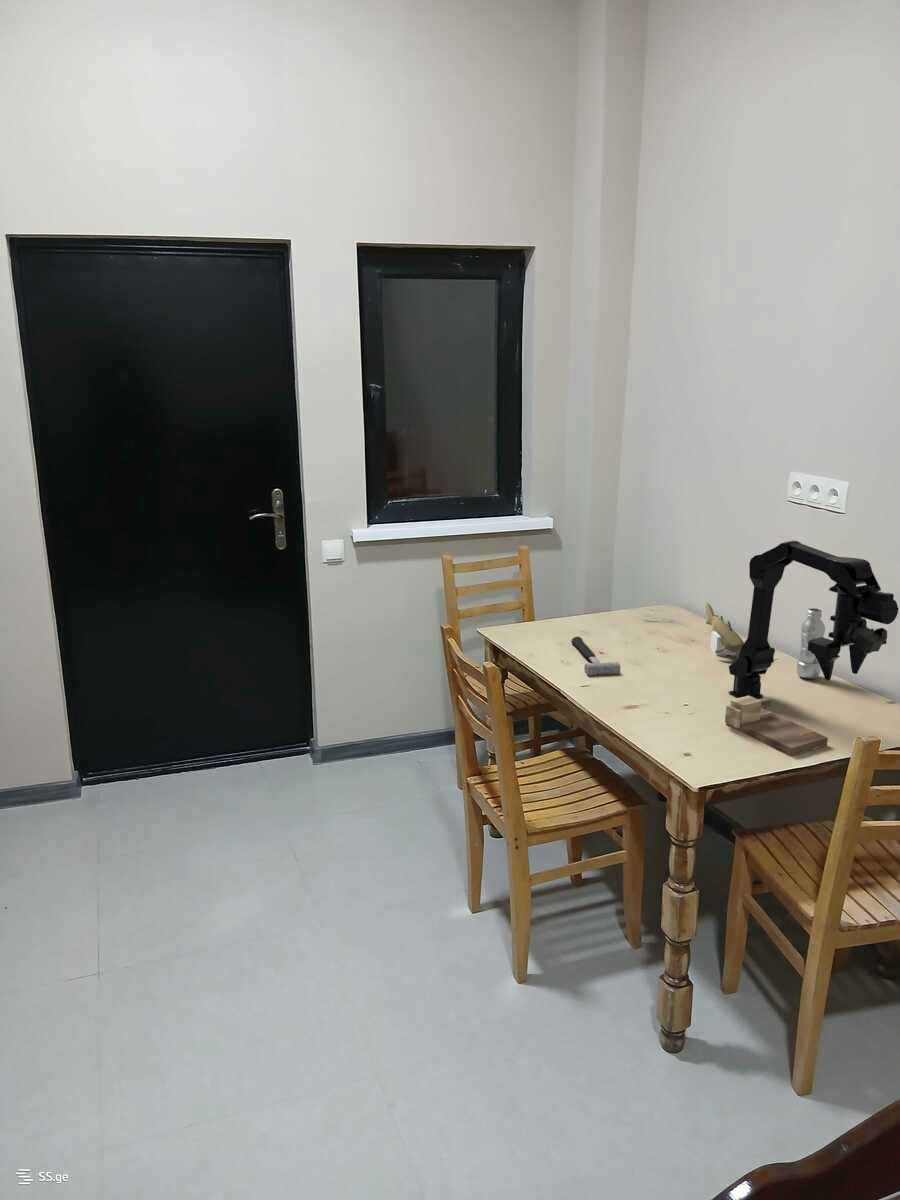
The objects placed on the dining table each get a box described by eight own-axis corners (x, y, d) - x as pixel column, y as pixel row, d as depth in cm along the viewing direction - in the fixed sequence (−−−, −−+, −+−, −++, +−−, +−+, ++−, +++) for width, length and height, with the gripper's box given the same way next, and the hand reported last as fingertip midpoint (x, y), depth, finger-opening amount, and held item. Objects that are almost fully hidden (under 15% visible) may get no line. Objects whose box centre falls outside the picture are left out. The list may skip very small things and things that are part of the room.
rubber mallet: (591, 634, 270) (620, 664, 242) (591, 645, 271) (620, 676, 243) (562, 636, 269) (588, 665, 241) (561, 646, 270) (587, 677, 241)
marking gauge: (724, 722, 205) (726, 700, 204) (760, 713, 210) (762, 692, 209) (737, 728, 202) (738, 706, 200) (772, 719, 207) (774, 697, 205)
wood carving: (718, 633, 279) (720, 601, 277) (753, 669, 246) (756, 632, 243) (691, 633, 280) (693, 601, 277) (723, 669, 246) (726, 633, 243)
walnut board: (725, 724, 207) (726, 716, 206) (761, 715, 212) (761, 708, 212) (790, 756, 190) (791, 747, 189) (827, 745, 195) (828, 737, 194)
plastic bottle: (791, 677, 238) (798, 610, 233) (801, 671, 243) (808, 605, 238) (814, 683, 234) (821, 614, 229) (823, 676, 238) (831, 609, 233)
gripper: (851, 628, 182) (843, 694, 186) (907, 616, 190) (898, 680, 194) (809, 615, 192) (802, 679, 196) (864, 605, 200) (856, 666, 204)
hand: (841, 676), depth 197 cm, fingers open, 9 cm apart
